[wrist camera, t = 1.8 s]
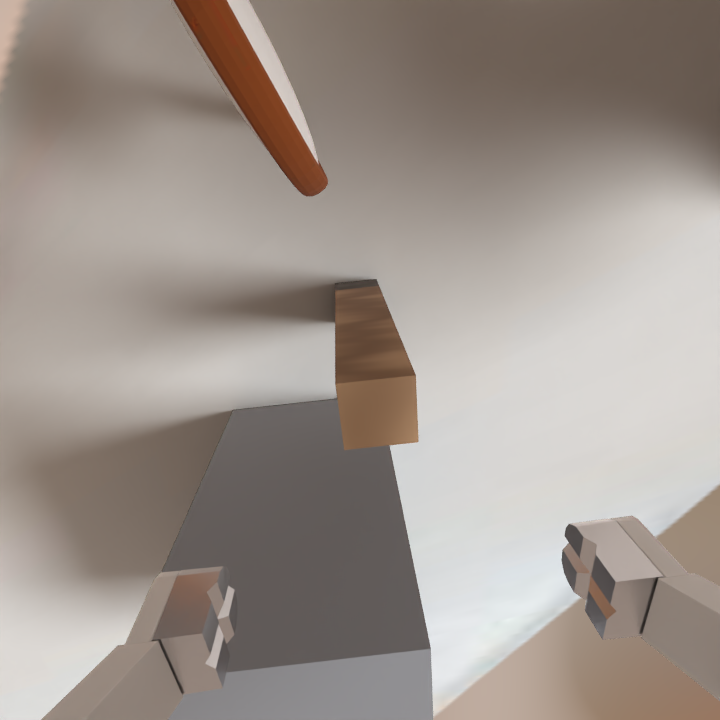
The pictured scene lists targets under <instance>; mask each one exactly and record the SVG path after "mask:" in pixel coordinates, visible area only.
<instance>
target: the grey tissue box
mask: <svg viewBox="0 0 720 720" xmlns="http://www.w3.org/2000/svg"><path fill="white" fill-rule="evenodd" d="M221 566H226V567H227V568H228V571H229V574H230V580H229V584H228V586H230V587H231V588H233V589H234V590H235V593H236V597H237V604H238V613H237V624H236V629H235V634H234V636H233V637H232V638H231V639H230V641H229V642H228V643H227V644H226V645H227V648H228V651H229V654H230V658H229V662H228V667H227V672H226V676H225V681H224V685H223V688H222V689H215V690H209V691H203V692H197V693H190V694H184V695H183V698H182V700H181V701H180V703H179V704H178V706H177V707H176V708H175V710H174V711H173V713H172V714H171V716H170V717H169V718H168V720H433V701H432V672H431V648H430V643H429V638H428V633H427V628H426V623H425V618H424V613H423V609H422V604H421V599H420V594H419V589H418V584H417V579H416V574H415V569H414V564H413V559H412V555H411V550H410V545H409V540H408V535H407V530H406V525H405V520H404V515H403V510H402V505H401V500H400V496H399V491H398V486H397V481H396V476H395V471H394V466H393V461H392V456H391V451H390V446H389V445H387V446H378V447H369V448H359V449H350V450H344V445H343V438H342V430H341V422H340V415H339V407H338V399H332V400H322V401H313V402H304V403H295V404H285V405H276V406H267V407H257V408H248V409H239V410H233V411H232V414H231V416H230V418H229V420H228V423H227V425H226V427H225V430H224V432H223V434H222V436H221V439H220V441H219V443H218V445H217V448H216V450H215V452H214V454H213V457H212V459H211V461H210V463H209V466H208V468H207V470H206V473H205V475H204V477H203V479H202V482H201V484H200V486H199V488H198V491H197V493H196V495H195V497H194V500H193V502H192V504H191V506H190V509H189V511H188V513H187V516H186V518H185V520H184V522H183V525H182V527H181V529H180V531H179V534H178V536H177V538H176V540H175V543H174V545H173V547H172V549H171V552H170V554H169V556H168V559H167V561H166V563H165V565H164V568H163V570H162V572H171V571H181V570H189V569H199V568H210V567H221Z"/></svg>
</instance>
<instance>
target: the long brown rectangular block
mask: <svg viewBox="0 0 720 720" xmlns="http://www.w3.org/2000/svg"><path fill="white" fill-rule="evenodd" d="M335 384H336V392H337V399H338V407H339V415H340V422H341V430H342V438H343V445H344V450H350V449H359V448H369V447H378V446H387V445H396V444H405V443H414V442H418V420H417V395H416V375H415V372H414V370H413V368H412V365H411V363H410V360H409V358H408V355H407V353H406V351H405V348H404V346H403V343H402V341H401V338H400V336H399V333H398V331H397V329H396V326H395V324H394V321H393V319H392V316H391V314H390V312H389V309H388V307H387V304H386V302H385V299H384V297H383V295H382V292H381V290H380V287H379V285H378V282H377V280H376V279H375V280H365V281H356V282H346V283H336V284H335Z"/></svg>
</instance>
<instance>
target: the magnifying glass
mask: <svg viewBox="0 0 720 720" xmlns="http://www.w3.org/2000/svg"><path fill="white" fill-rule="evenodd" d="M170 2H171V4H172V6H173V8H174V9H175V11H176V13H177V15H178V16H179V18H180V20H181V22H182V23H183V25H184V27H185V28H186V30H187V32H188V34H189V35H190V37H191V39H192V40H193V42H194V44H195V45H196V47H197V49H198V50H199V52H200V53H201V55H202V57H203V58H204V60H205V62H206V63H207V65H208V66H209V68H210V70H211V71H212V73H213V74H214V76H215V77H216V79H217V80H218V82H219V83H220V85H221V87H222V88H223V90H224V91H225V93H226V94H227V96H228V97H229V99H230V100H231V102H232V103H233V104H234V106H235V107H236V109H237V110H238V112H239V113H240V115H241V116H242V117H243V119H244V120H245V122H246V123H247V124H248V126H249V127H250V128H251V129H252V131H253V132H254V133H255V135H256V136H257V137H258V138H259V140H260V141H261V142H262V144H263V145H264V146H265V147H266V149H267V150H268V151H269V153H270V154H271V155H272V157H273V158H274V160H275V161H276V162H277V164H278V165H279V167H280V168H281V169H282V171H283V172H284V173H285V175H286V176H287V177H288V179H289V180H290V181H291V182H292V184H293V185H294V186H295V187H296V188H297V189H298V191H299V192H301V193H302V194H303V195H305V196H314V195H316V194H319V193H320V192H321V191H323V190H324V189H325V188H326V186H327V184H328V179H327V177H326V174H325V172H324V170H323V168H322V167H321V165H320V163H319V161H318V158H317V154H316V150H315V147H314V143H313V140H312V137H311V134H310V131H309V128H308V125H307V122H306V120H305V117H304V114H303V112H302V109H301V107H300V105H299V102H298V100H297V97H296V95H295V92H294V90H293V88H292V86H291V83H290V81H289V79H288V77H287V75H286V73H285V70H284V68H283V66H282V64H281V62H280V60H279V57H278V55H277V53H276V51H275V49H274V47H273V45H272V44H271V42H270V40H269V38H268V36H267V34H266V32H265V30H264V28H263V26H262V24H261V22H260V20H259V18H258V17H257V15H256V13H255V11H254V9H253V7H252V5H251V3H250V2H249V0H170Z"/></svg>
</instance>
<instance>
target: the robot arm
mask: <svg viewBox="0 0 720 720" xmlns="http://www.w3.org/2000/svg"><path fill="white" fill-rule="evenodd" d="M565 537H566V539H567V540H568V542H569V543H568V544H567V546H566V547H565V548H564V549H563V552H562V564H563V569H564V573H565V576H566V578H567V580H568V583H569V584H570V586H571V588H572V589H573V591H574V592H575V593H576V594H578V595H579V596H580V597H582V598H583V599H585V600H586V605H585V611H586V613H587V615H588V616H589V618H590V620H591V621H592V623H593V624H594V626H595V628H596V630H597V631H598V633H599V635H600V636H601V638H602V639H615V638H624V637H635V636H642V637H641V638H642V639H643V640H644V641H645V642H647V643H648V644H649V645H650V646H652V647H653V648H654V649H655V650H657V651H658V652H659V653H660V654H662V655H663V656H664V657H665V658H667V659H668V660H669V661H670V662H672V663H673V664H674V665H675V666H676V667H678V668H679V669H680V670H681V671H683V672H684V673H685V674H687V675H688V676H689V677H691V679H693V680H694V681H695V682H696V683H698V684H699V685H700V686H701V687H703V688H704V689H705V690H706V691H708V692H709V693H710V694H711V695H713V696H714V697H715V698H716V699H718V700H719V701H720V586H718V585H717V584H715V583H712V582H711V581H709V580H707V579H705V578H703V577H701V576H699V575H698V574H688V572H686V570H685V569H684V568H683V567H682V566H681V565H680V564H679V563H678V562H677V561H676V560H675V558H674V557H673V556H672V555H671V554H670V553H669V552H668V551H667V550H666V549H665V548H664V547H663V545H662V544H661V543H660V542H659V541H658V540H657V539H656V538H655V537H654V536H653V535H652V534H651V533H650V531H649V530H648V529H647V528H646V527H645V526H644V525H643V524H642V523H641V522H640V521H639V520H638V519H637V518H635V517H633V516H627V517H619V518H611V519H601V520H594V521H586V522H579V523H571V524H569V525H568V526H567V527H566V531H565ZM229 580H230V574H229V571H228V568H227V567H226V566H221V567H210V568H199V569H189V570H181V571H171V572H161V573H159V574H158V576H157V577H156V578H155V579H154V581H153V583H152V585H151V588H150V590H149V592H148V594H147V596H146V599H145V601H144V603H143V605H142V608H141V610H140V612H139V614H138V616H137V619H136V621H135V623H134V625H133V628H132V630H131V632H130V634H129V637H128V639H127V641H126V643H125V645H118V646H117V647H116V648H115V649H114V650H113V651H112V652H111V653H110V654H109V655H108V656H107V657H106V658H105V659H104V660H103V661H101V662H100V663H99V664H98V665H97V666H96V667H95V668H94V669H93V670H92V671H91V672H90V673H89V674H88V675H87V676H86V677H85V678H84V679H83V680H82V681H81V682H80V683H79V684H78V685H77V686H76V687H75V688H74V689H72V690H71V691H70V692H69V693H68V694H67V695H66V696H65V697H64V698H63V699H62V700H61V701H60V702H59V703H58V704H57V705H56V706H55V707H54V708H53V709H52V710H51V711H50V712H49V713H48V714H47V715H46V716H45V717H43V718H42V719H41V720H168V718H169V717H170V716H171V714H172V713H173V711H174V710H175V708H176V707H177V706H178V704H179V703H180V701H181V700H182V698H183V695H184V694H190V693H197V692H203V691H209V690H215V689H222V688H223V685H224V681H225V676H226V672H227V667H228V662H229V658H230V654H229V651H228V648H227V645H226V644H227V643H228V642H229V641H230V639H231V638H232V637H233V636H234V634H235V629H236V624H237V613H238V604H237V597H236V593H235V590H234V589H233V588H231V587H230V586H228V584H229Z"/></svg>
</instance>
